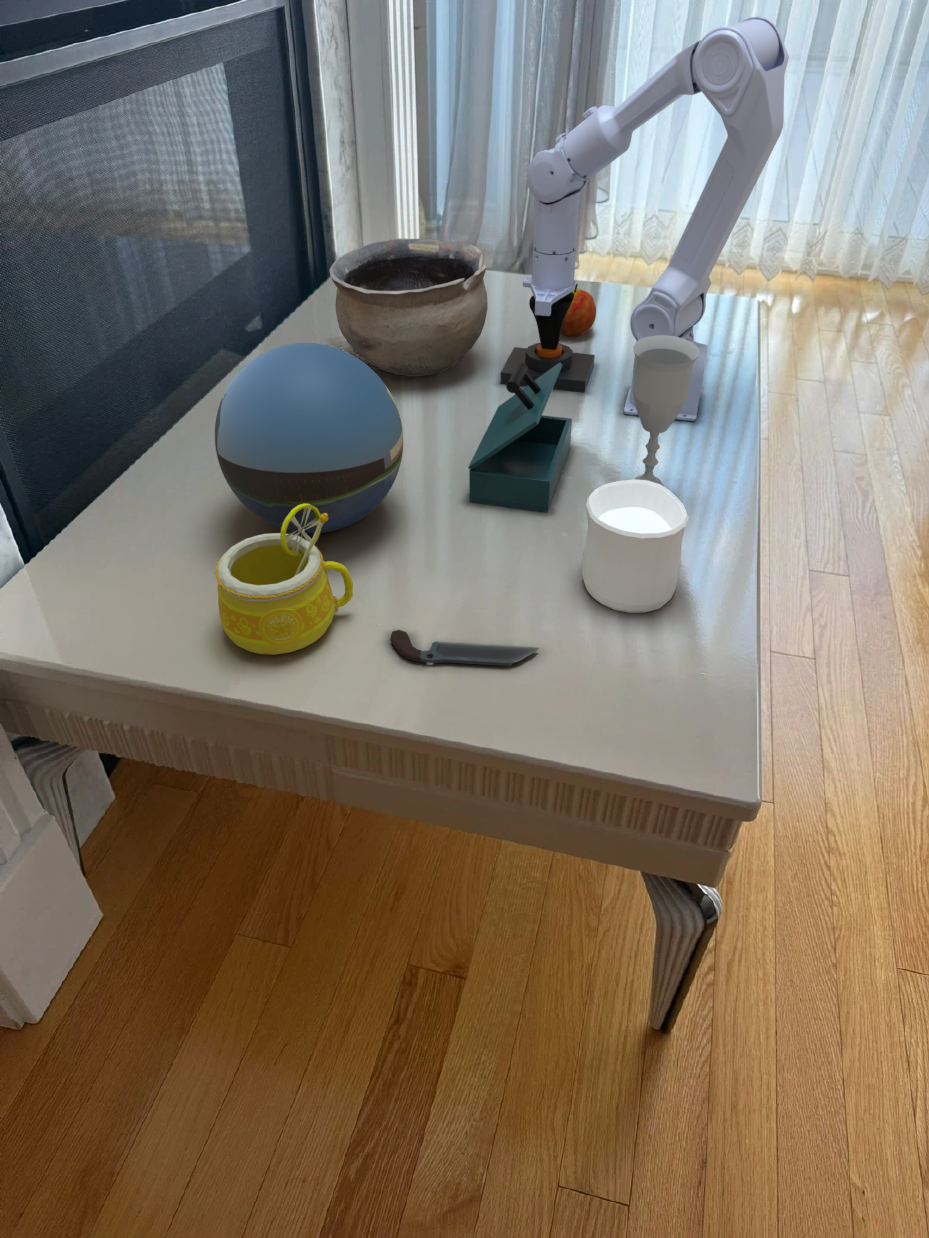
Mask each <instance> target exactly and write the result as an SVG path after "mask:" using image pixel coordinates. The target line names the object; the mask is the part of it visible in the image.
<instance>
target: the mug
mask: <svg viewBox="0 0 929 1238" xmlns="http://www.w3.org/2000/svg"><path fill="white" fill-rule="evenodd" d="M303 508H304V512H303V517H302V521H301V524H302V522H303V519H304V516H305V514H306V511H307V508H308V511H307V516H306V520H305V524H306V521H307V519H308V516H309V513H310V510H311V509H313V511H314V513H315V515H316V518H315V519H314V520H312V521H311V522H310V523H308V524H307V525H304V527H306V526H308V525H311V524H312V525H311V526H309V527H308V528H311V527H313V526H315V525H317V526H316V531H315V533H313V536H312V537H310V536H309V535H308V533H305V530H306V529H308V528H306V529H302V528H304V527H302V528H301V526H300V525H299V523H298V521H297V520H296V518H295V514H296V513H297V512H298V511H300V510H301V509H303ZM328 519H329V518H328V514H327V513H323V514H320V512H319V510H318V509H317V508H316V507H314V506H312V505H310V504H305V503H304V504H301V505H298V506H296V507H295V508H293V509H292V510H291V511H290V513H289V514H288V515H287V517H286V518H285V520H284V522H283V524H282V528H280V532H276V533H275V532H274V533H262V534H258V535H254V536H251V537H247V538H244V539H243V540H241V541H239V542H237V543H235V544H234V545H231V546H230V547H229V548H228V550H227V551H226V552H224V554H222V556H220V558H219V559H218V561H217V563H216V565H215V571H214V572H215V579H216V582H217V601H218V602H217V603H218V612H219V614H218V615H219V619H220V623H221V627H222V629H223V632H224V633H225V634H226V635H227V637H228V638H229V639H230V640H231V641H232V642H233V643H234V644H235V645H236V646H237V647H239V648H241V649H244V650H245V651H248V652H250V653H254V654H258V655H282V654H288V653H289V654H290V653H292V652H296V651H298V650H302V649H304V648H306V647H308V646H309V645H311V644H313V643H315V642H317V641H318V640H319V639H320V638H321V637H322V636H324V634H325V633H326V632H327V630H328V629H329V627H330V625H331V624H332V622H333V619H334V616H335V613H336V612H338V611H339V608H341V607H344V606H345V605H346V604H348V602H350V601H351V600H352V598H353V596H354V592H353V591H354V582H353V579H352V577H351V575H350V572H349V570H348V568H347V567H346V566H345V565H344V564H343V563H340V562H337V561H333V560H328V561H325V560H324V557H323V554H322V552H321V551H320V549H319V548H318V546H316V545H315V544H316V543H317V541H318V540H319V537H320V535H321V533H320V532H321V528H322V526H323V524H324V523H325V522H326V521H328ZM290 521H292V522H293V523H294V524H295V525H296V526H297V525H298V526H299V527H298V526H297V527H298V530H297V531H301V529H302V531H301V532H302V533H301V532H297V531H295V532H294V531H292V532H291V533H287V531H288V530H287V527H288V524H289V522H290ZM313 523H314V524H313ZM300 534H301V536H300ZM330 570H333V571H336V572H338V573H339V574H340V575H341V577H342V579H343V585H344V594H343V595H342V596H341V597H339V598H338V597H337V596H335V595H334V594H333V590H332V586H331V583H330V581H329V577H328V572H329V571H330Z"/></svg>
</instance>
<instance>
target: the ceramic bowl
mask: <svg viewBox="0 0 929 1238" xmlns="http://www.w3.org/2000/svg"><path fill="white" fill-rule="evenodd" d="M486 270H487V264H485V253H484V252H483V251H482V250H481V249H480V248H479V247H477V246H475V245H473V244H468V243H465V242H461V241H455V242H453V241H449V240H438V239H432V238H403V237H402V238H401V237H400V238H391V239H387V240H381V241H376V242H375V241H374V242H372V243H367V244H365V245H363V246H360V247H357V248H354V249H352V250H350V251H348V252H346V253H344V254H342V255H341V256H339V257H338V258H337V259H336V260H334V261H333V263H332V265H331V266H330V268H329V274H330V279H331V281H332V282H333V284H334V285H335V287H336V292H335V315H336V320H337V323H338V324H337V325H338V328H339V331H340V333H341V336H343V338H344V339H345V340H346V342H347V343H348V344H349V346H350V347H351V348H352V349H353V350H354V351H355V353H357V354H358V355H359V356H360V358H362V359H364V360H365V361H367V362H369V364H371V365H373V366H374V367H376V368H378V369H379V370H382V371H384V372H386V373H390V374H394V375H399V376H406V377H411V376H412V377H421V376H431V375H435V374H439V373H441V372H444V371H447V370H448V369H450V368H452V367H453V366H455V365H456V364H457V363H460V361H462V360H463V359H464V358H465V357H466V356H467V355H468V353H469V352H470V350H471V349H472V348H473V347H474V345H475V344H476V342H477V341H478V339H479V338H480V337H481V335H482V332H483V330H484V327H485V323H486V318H487V315H488V293H487V288H486V283H485V280H484V279H485V278H484V277H485V274H486Z"/></svg>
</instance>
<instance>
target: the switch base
mask: <svg viewBox="0 0 929 1238" xmlns="http://www.w3.org/2000/svg"><path fill="white" fill-rule="evenodd" d="M539 344H540V342H536V343H534V344H531V345H529V346H528V347H519V346H518V347H517V346H513V349H512V351H511V353H510V354H509V357H508V358H507V360H506V362H505V363H504V365H503V368H502V370H501V371H500V384H502V385H507V383H508V381H509V379H510V377H511V375H512V373H513V371H514V369H515V367H516V365H517V364H518V363H524V364H526V366H527V368H528V370H527V372H528V374H529V375H530V376H531V377H532V378H533V380H534V381H535V380H536V379H537V378H539V377H540V376H542V375H543V374H544V373H546V372H547V371H548V370H550V369H551V368H553V367H554V366H555V365H557V364H558V363H561V364H562V368H561V370H560V373H559V375H558V377H557V380H556V382H555V385H554V387H553V390H558V391H569V392H579V393H585V392H586V389H587V387H588V383H589V381H590V378H591V375H592V372H593V369H594V367H595V357H596V355H595V354H593V353H581V352H580V353H579V352H574V351H573V350H572V348H571V347H570V346H569V345H566V344H563V343H560V342H559V343H558V344H560V345H561V346H562V355H561V356H559V357H552V358H548V357H541V356H538V355H536V352H537V345H539ZM526 386H528V384H527V383H526V382H525V381H524V380H523V381H522V383H521V385H520V387H526Z"/></svg>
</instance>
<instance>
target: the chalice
mask: <svg viewBox="0 0 929 1238" xmlns="http://www.w3.org/2000/svg"><path fill="white" fill-rule="evenodd" d="M632 349H633V353H634V357H635V356H636V366H635V374H634V382H633V396H634V401H635V405H636V410H637V413H638V415H637V416H638V418H639V421H640V424H641V427H642V428H643V430H644V431H646V432H648V433H649V439H648V441H647V443H646V444H645V446H644V447H645V448H646V449H645V450H646V451H647V454H646V456H645V457H644V458H643V459H642V463H643V465H644V469H645V470H644V473H643V474H640V475H638V476H636V477H635V478H634V479H636V480H648V481H651V482H654V483H657V484H660V485H662V486H663V487H664V483H663V482H662V481H661V479H659V478H658V477H657V476H655V475H654V469H655V466H657V465H658V464H659V460H658V459H657V458H656V456H657V455H656V454H657V451H658V450H659V449H660V445H659V435H660V434H663V433H665V432H667V431H668V430H669V428H670V427H671V425H673V422H674V421H675V420H676V419H675V418H676V417H677V415H678V414H679V412H680V410H681V408H682V407H683V405H684V403H685V401H686V399H687V396H688V391H689V385H690V379H691V373H692V367H693V363H694V361H695V360H696V359H697V357H698V355H699V353H700V351H699V348H698V347H697V346H696V345H695V344H694V343H693V342H691V341H689V340H687V339H683V338H680V337H675V336H668V335H656V336H649V337H645V338H642V339H640V340H638V341H637V342H636V341H635V342H634V344H633V346H632Z"/></svg>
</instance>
